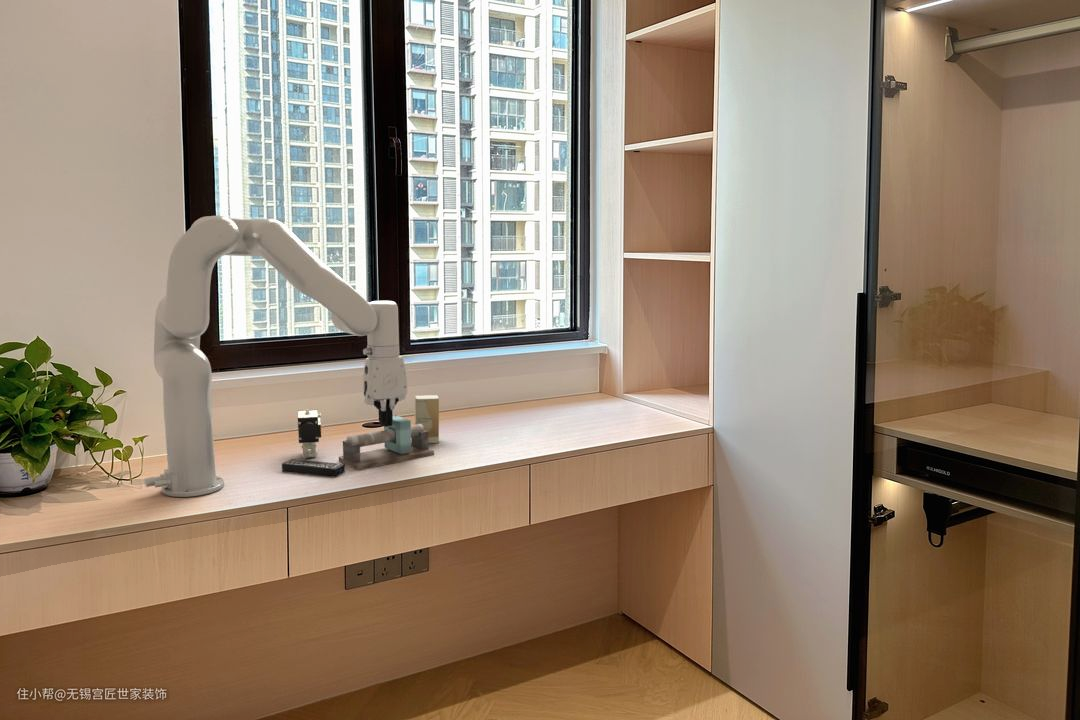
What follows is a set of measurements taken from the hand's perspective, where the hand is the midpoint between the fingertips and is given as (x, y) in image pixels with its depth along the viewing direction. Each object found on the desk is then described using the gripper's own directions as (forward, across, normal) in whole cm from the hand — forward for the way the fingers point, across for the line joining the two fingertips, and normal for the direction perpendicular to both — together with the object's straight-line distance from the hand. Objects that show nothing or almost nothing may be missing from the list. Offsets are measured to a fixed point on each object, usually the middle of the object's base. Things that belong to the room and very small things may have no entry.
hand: (385, 425), depth 207 cm
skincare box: (+8, +16, +7) cm, 19 cm away
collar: (+7, +3, 0) cm, 7 cm away
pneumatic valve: (+8, -14, +13) cm, 21 cm away
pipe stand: (+8, 0, 0) cm, 8 cm away
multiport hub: (+9, -19, 0) cm, 21 cm away
